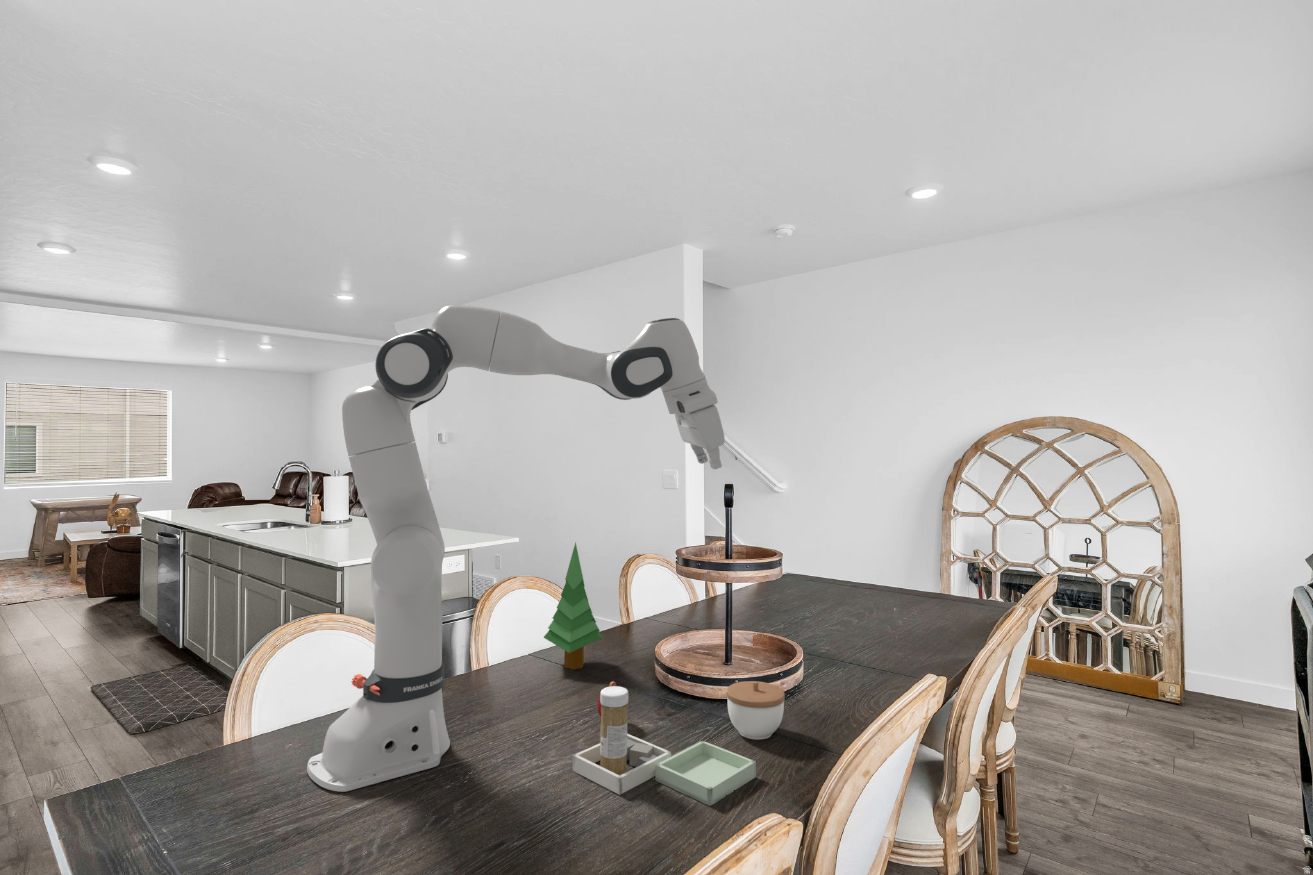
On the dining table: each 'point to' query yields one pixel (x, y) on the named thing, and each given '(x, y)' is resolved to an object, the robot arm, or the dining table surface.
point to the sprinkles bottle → (614, 729)
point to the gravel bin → (637, 753)
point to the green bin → (705, 772)
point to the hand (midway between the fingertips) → (710, 465)
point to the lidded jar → (755, 708)
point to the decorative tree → (573, 618)
